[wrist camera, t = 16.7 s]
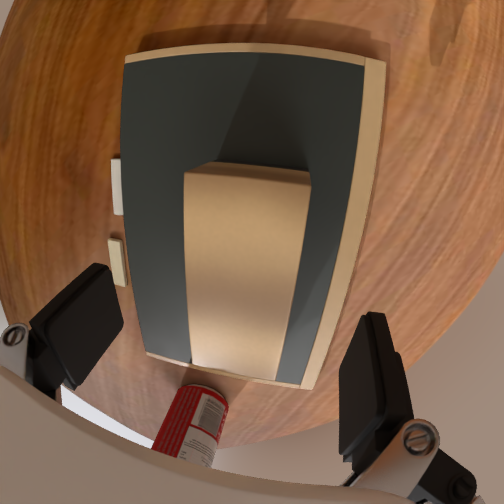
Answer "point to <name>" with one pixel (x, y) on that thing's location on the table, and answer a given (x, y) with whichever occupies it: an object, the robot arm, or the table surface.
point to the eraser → (242, 261)
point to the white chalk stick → (116, 186)
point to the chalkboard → (253, 150)
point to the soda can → (193, 425)
